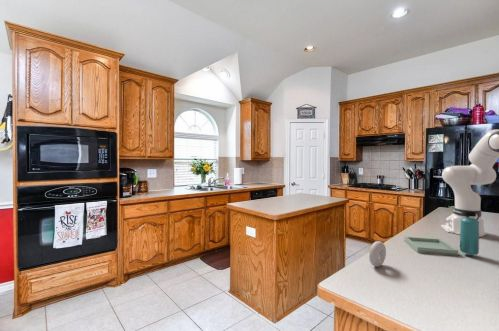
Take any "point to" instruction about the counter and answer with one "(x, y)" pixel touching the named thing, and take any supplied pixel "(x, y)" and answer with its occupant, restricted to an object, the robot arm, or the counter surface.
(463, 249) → the beverage bottle
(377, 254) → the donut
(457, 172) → the robot arm
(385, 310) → the counter surface
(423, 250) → the tray
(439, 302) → the counter surface
